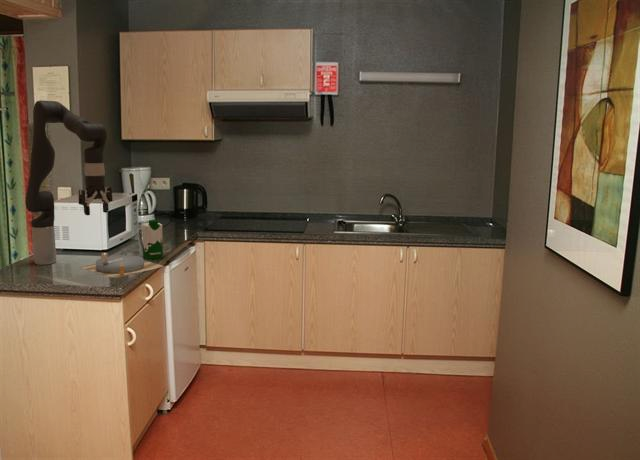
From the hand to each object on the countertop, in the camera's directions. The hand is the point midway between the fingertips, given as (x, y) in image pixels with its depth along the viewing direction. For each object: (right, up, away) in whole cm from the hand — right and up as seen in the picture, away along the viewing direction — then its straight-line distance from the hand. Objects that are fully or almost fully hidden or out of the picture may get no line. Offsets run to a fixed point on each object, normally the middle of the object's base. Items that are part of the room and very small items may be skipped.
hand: (96, 213), depth 222 cm
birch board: (+3, -25, +21) cm, 33 cm away
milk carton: (+11, -22, +39) cm, 46 cm away
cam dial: (+2, -23, +20) cm, 31 cm away
